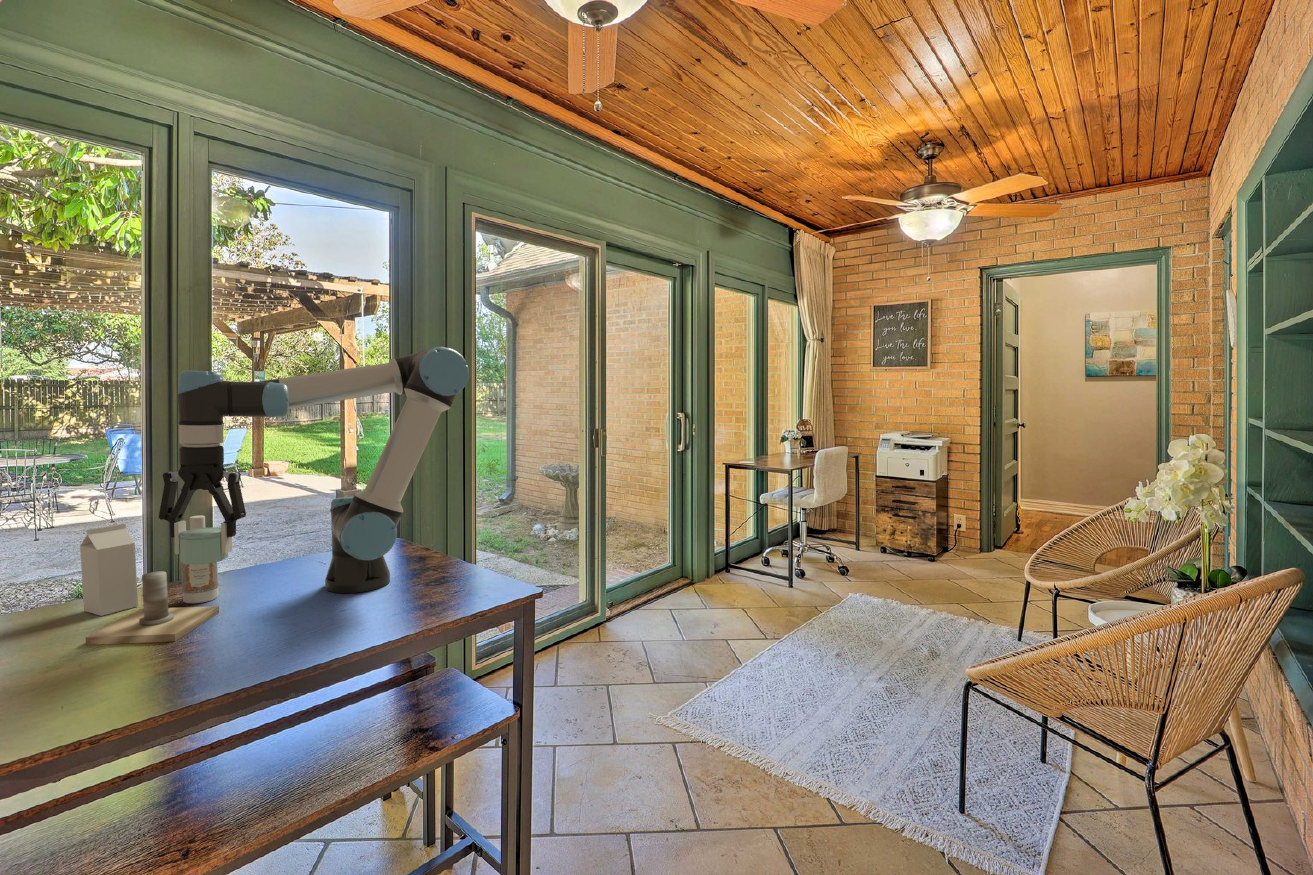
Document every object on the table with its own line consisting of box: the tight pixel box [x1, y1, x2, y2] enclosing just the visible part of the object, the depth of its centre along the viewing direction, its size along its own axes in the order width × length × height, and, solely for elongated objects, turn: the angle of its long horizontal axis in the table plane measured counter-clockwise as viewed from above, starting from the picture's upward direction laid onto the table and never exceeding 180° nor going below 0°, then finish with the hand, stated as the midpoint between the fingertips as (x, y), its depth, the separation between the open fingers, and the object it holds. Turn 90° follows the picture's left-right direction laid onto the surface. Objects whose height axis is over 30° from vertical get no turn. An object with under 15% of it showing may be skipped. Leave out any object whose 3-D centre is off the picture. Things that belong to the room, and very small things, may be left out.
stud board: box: [84, 570, 220, 646], centre depth 132 cm, size 16×16×12 cm
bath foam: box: [180, 515, 220, 605], centre depth 149 cm, size 7×7×20 cm
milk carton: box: [79, 523, 139, 617], centre depth 142 cm, size 7×7×19 cm
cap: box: [179, 526, 229, 565], centre depth 133 cm, size 8×8×6 cm
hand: (203, 552), depth 133 cm, fingers closed on cap, 8 cm apart
